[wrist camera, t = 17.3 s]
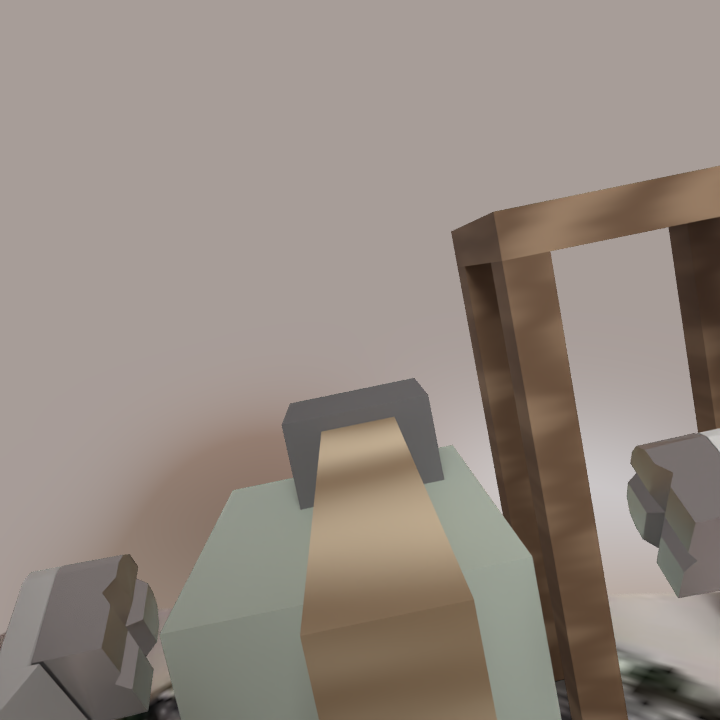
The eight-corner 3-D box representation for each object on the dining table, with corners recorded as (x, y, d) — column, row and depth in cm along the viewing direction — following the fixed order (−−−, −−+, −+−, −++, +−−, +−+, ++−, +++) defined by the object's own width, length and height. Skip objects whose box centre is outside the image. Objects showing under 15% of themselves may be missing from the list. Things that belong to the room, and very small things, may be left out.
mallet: (588, 741, 10) (554, 548, 9) (252, 813, 10) (204, 621, 9) (428, 450, 26) (414, 377, 26) (305, 476, 26) (290, 403, 26)
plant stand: (594, 791, 30) (493, 211, 27) (530, 664, 40) (451, 231, 37) (898, 726, 30) (832, 142, 27) (758, 616, 40) (698, 181, 37)
